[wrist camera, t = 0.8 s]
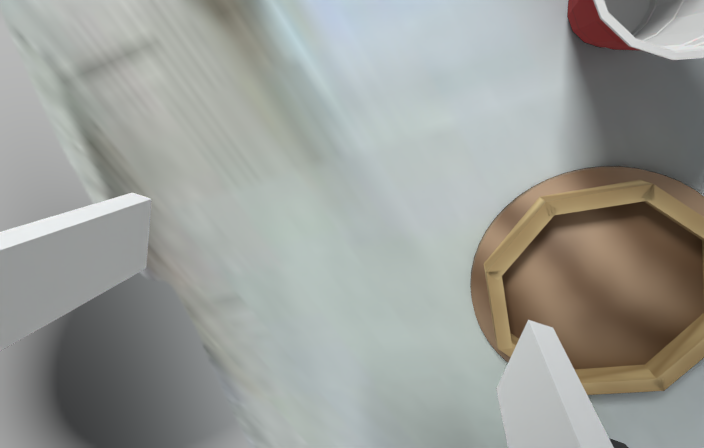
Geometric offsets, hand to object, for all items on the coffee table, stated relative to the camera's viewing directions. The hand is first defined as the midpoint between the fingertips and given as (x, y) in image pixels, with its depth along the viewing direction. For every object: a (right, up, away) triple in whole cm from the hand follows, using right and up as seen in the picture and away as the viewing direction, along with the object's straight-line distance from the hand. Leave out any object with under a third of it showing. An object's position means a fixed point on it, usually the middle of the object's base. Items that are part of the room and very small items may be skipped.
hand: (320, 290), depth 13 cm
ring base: (+23, -3, +22) cm, 32 cm away
